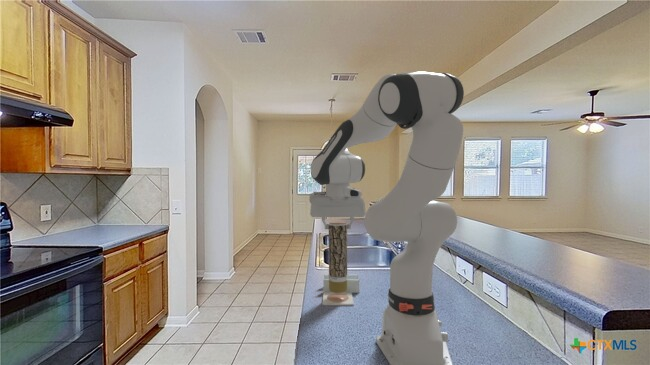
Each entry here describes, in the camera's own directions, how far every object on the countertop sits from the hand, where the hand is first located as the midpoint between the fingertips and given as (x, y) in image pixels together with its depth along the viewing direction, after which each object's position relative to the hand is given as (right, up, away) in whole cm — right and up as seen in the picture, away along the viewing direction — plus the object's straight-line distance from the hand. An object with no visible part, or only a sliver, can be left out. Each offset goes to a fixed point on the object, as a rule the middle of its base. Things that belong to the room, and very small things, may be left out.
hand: (337, 229), depth 117 cm
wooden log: (0, -23, 0) cm, 23 cm away
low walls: (+2, -26, +11) cm, 28 cm away
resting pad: (0, -26, +1) cm, 26 cm away
